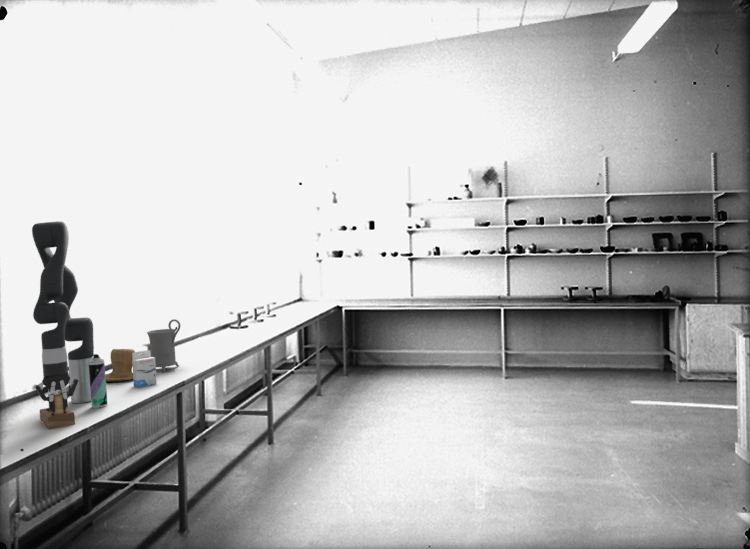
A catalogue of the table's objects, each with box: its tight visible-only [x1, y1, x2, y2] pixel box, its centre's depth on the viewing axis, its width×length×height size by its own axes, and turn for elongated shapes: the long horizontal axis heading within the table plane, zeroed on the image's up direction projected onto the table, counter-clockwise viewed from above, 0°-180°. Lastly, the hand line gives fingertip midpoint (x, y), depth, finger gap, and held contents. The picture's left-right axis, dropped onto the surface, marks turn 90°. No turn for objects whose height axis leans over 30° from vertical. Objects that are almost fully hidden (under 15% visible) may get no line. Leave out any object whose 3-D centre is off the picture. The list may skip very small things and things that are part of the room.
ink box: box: [132, 349, 158, 388], centre depth 261 cm, size 9×5×15 cm, turn 133°
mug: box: [146, 318, 181, 373], centre depth 294 cm, size 19×15×25 cm
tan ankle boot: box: [105, 348, 136, 383], centre depth 273 cm, size 15×12×15 cm
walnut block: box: [39, 407, 76, 430], centre depth 206 cm, size 15×8×4 cm, turn 39°
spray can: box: [89, 353, 108, 409], centre depth 226 cm, size 6×6×20 cm
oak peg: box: [53, 392, 64, 415], centre depth 203 cm, size 3×3×10 cm
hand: (58, 410), depth 203 cm, fingers closed on oak peg, 3 cm apart
